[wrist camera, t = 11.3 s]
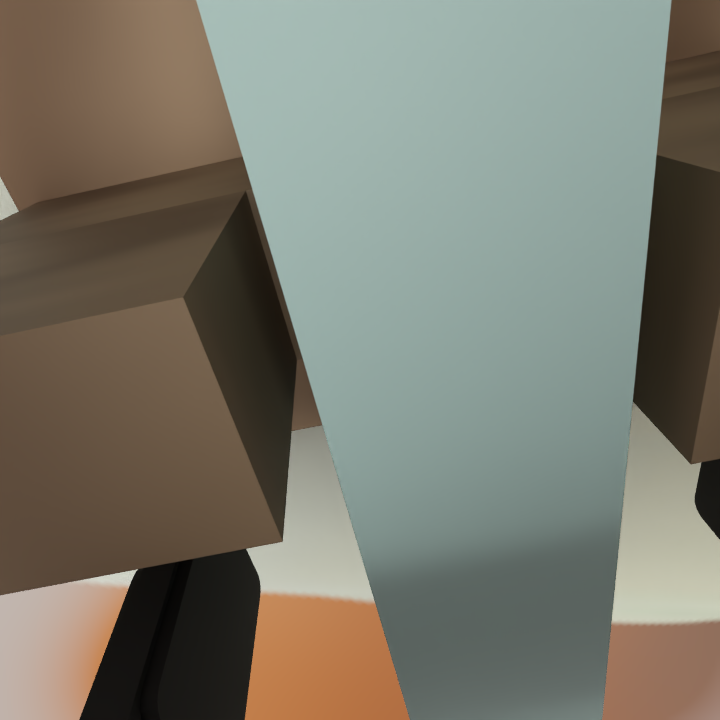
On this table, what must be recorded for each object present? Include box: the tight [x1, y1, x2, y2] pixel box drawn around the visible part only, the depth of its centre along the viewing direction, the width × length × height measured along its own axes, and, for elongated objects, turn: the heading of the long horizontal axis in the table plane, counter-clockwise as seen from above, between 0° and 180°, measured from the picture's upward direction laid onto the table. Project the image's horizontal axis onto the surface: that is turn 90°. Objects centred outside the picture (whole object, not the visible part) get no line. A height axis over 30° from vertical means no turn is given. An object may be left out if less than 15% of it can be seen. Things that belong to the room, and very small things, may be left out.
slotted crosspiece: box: [196, 0, 671, 720], centre depth 8 cm, size 3×14×8 cm, turn 11°
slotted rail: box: [0, 0, 720, 595], centre depth 9 cm, size 16×12×9 cm
